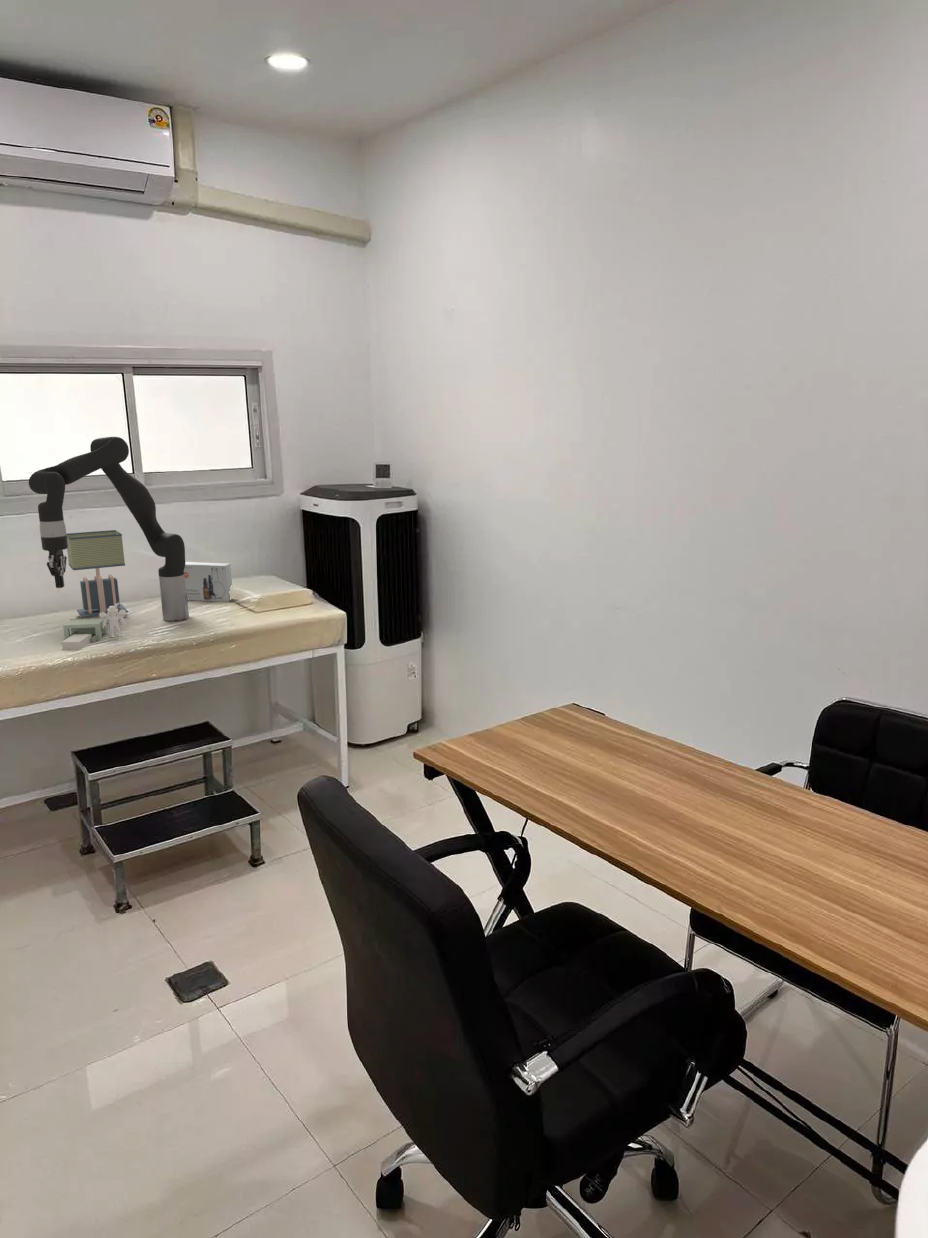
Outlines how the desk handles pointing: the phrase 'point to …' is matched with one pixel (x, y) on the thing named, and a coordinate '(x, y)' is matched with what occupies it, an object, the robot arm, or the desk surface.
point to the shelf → (85, 627)
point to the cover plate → (76, 641)
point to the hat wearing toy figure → (113, 619)
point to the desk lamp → (91, 554)
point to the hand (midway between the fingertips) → (60, 587)
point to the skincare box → (207, 581)
